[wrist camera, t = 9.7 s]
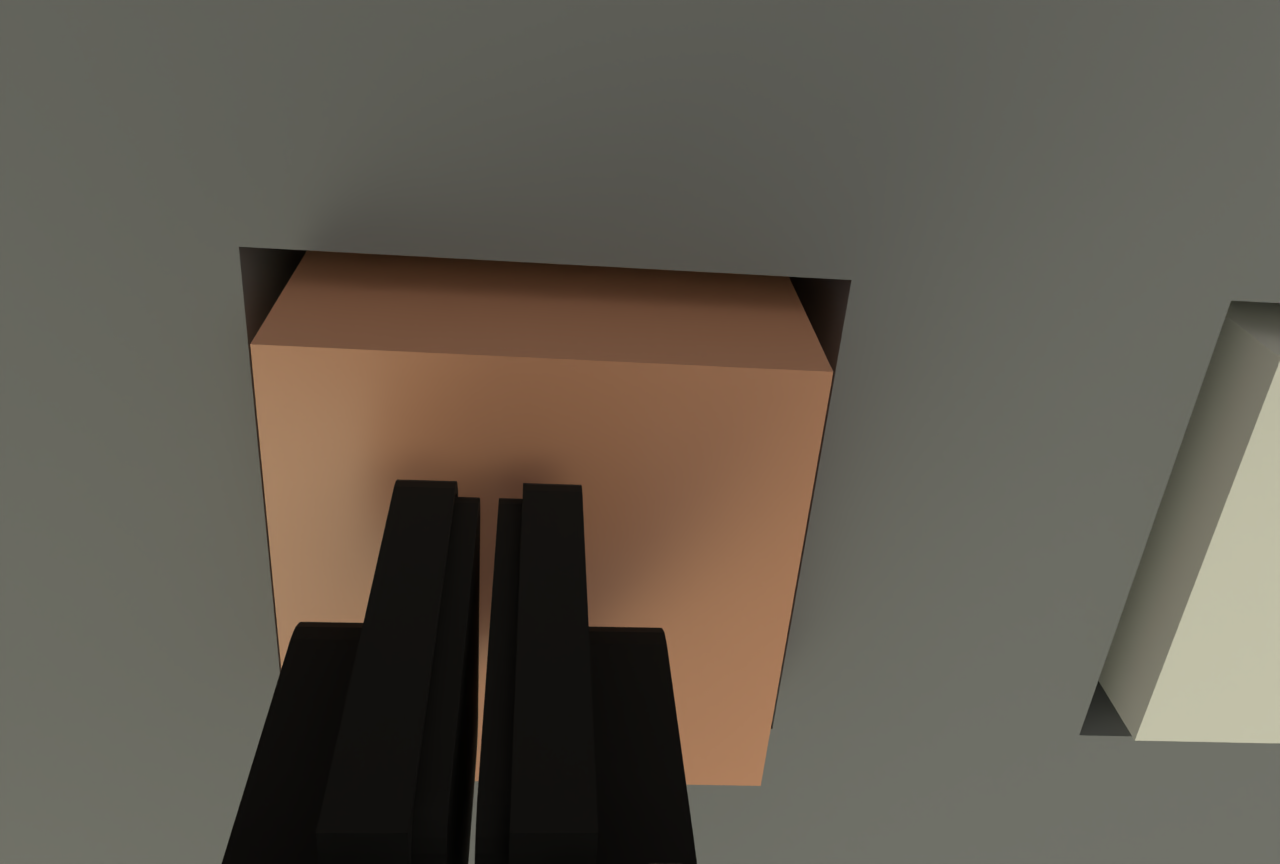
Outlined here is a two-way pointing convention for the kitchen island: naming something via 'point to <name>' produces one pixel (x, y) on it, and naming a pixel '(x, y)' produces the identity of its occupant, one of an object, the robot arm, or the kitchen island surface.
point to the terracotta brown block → (559, 450)
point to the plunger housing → (666, 240)
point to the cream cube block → (1212, 561)
